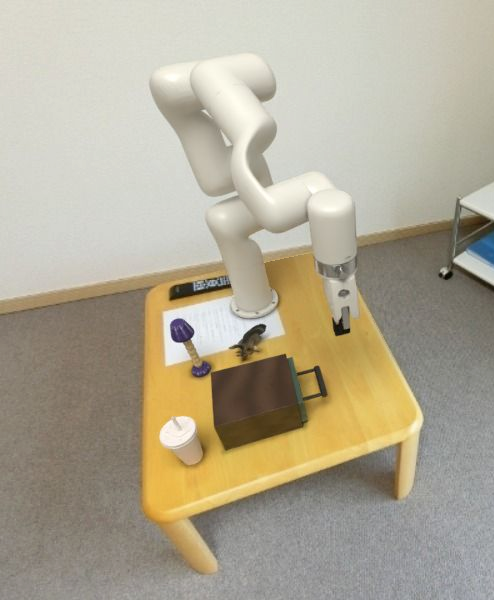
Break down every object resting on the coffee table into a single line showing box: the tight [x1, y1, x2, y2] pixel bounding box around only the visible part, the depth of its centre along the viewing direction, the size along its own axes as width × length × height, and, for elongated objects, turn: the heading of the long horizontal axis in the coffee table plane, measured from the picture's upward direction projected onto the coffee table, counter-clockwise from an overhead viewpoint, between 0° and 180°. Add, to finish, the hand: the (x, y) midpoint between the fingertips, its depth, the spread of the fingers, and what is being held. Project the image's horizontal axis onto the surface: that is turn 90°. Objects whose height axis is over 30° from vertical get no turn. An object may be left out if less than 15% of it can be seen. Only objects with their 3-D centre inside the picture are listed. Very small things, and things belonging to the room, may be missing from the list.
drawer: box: [287, 356, 329, 423], centre depth 92 cm, size 20×13×7 cm, turn 111°
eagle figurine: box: [228, 323, 267, 362], centre depth 105 cm, size 8×7×9 cm
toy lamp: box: [169, 317, 212, 378], centre depth 95 cm, size 5×5×17 cm
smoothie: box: [158, 415, 204, 466], centre depth 81 cm, size 6×6×14 cm
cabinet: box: [210, 353, 304, 451], centre depth 90 cm, size 16×14×9 cm
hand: (341, 331), depth 87 cm, fingers closed
